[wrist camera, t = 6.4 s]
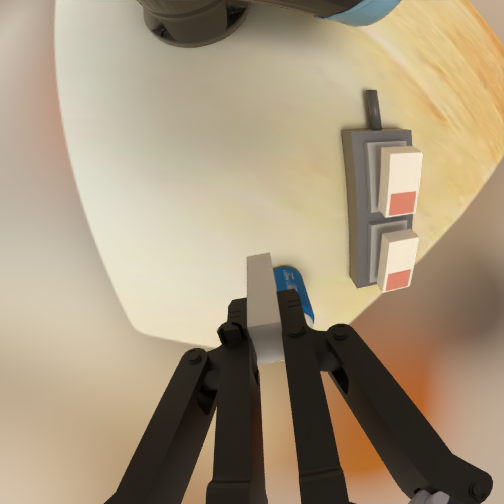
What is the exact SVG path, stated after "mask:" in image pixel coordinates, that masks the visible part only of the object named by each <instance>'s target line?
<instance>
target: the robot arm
mask: <svg viewBox="0 0 504 504" xmlns="http://www.w3.org/2000/svg"><path fill="white" fill-rule="evenodd" d="M137 1H138V2H139V3H140V4H141V5H142V6H143V14H144V20H145V23H146V25H147V27H148V28H149V30H150V31H151V32H152V33H153V34H154V35H155V36H156V37H158V38H159V39H160V40H162V41H163V42H165V43H168V44H170V45H173V46H178V47H200V46H205V45H209V44H212V43H215V42H217V41H220V40H222V39H224V38H225V37H227V36H229V35H230V34H231V33H233V32H234V31H235V30H236V29H237V28H238V27H239V26H240V25H241V24H242V23H243V21H244V20H245V18H246V16H247V14H248V11H249V5H250V2H254V3H261V4H267V5H272V6H278V7H283V8H287V9H292V10H296V11H300V12H304V13H308V14H312V15H314V16H315V17H316V18H319V19H323V20H333V21H336V22H340V23H343V24H346V25H349V26H367V25H370V24H373V23H375V22H377V21H379V20H381V19H382V18H384V17H385V16H386V15H388V14H389V13H390V12H391V11H392V10H393V9H394V8H395V7H396V6H397V5H398V4H399V3H400V1H401V0H137ZM217 333H218V336H219V338H220V341H221V343H222V345H221V346H219V347H218V348H216V349H213V350H211V351H208V352H206V351H205V350H204V349H201V348H193V349H191V350H189V351H187V352H186V353H185V354H184V355H183V356H182V358H181V360H180V362H179V364H178V366H177V368H176V370H175V372H174V374H173V376H172V378H171V380H170V382H169V384H168V386H167V388H166V390H165V392H164V394H163V396H162V398H161V400H160V402H159V404H158V406H157V408H156V410H155V412H154V414H153V416H152V418H151V420H150V422H149V424H148V427H147V429H146V431H145V433H144V435H143V437H142V439H141V441H140V443H139V445H138V447H137V449H136V451H135V453H134V455H133V457H132V460H131V461H130V464H129V466H128V468H127V470H126V472H125V474H124V476H123V478H122V481H121V483H120V485H119V487H118V489H117V491H116V493H115V494H114V495H112V497H110V498H109V499H108V500H107V501H106V502H105V503H104V504H181V502H182V499H183V497H184V494H185V491H186V488H187V486H188V484H189V481H190V478H191V475H192V473H193V470H194V467H195V465H196V462H197V459H198V457H199V454H200V451H201V449H202V446H203V443H204V440H205V438H206V435H207V432H208V429H209V427H210V424H211V421H212V418H213V415H214V412H215V410H216V407H217V414H216V431H215V446H214V464H213V479H212V481H211V482H210V483H209V484H208V486H207V491H206V504H268V499H267V495H266V490H265V475H264V474H265V473H264V453H263V435H262V434H263V433H262V415H261V394H260V376H259V370H258V367H257V361H258V364H263V363H270V362H277V361H282V360H285V363H286V371H287V379H288V387H289V394H290V402H291V410H292V418H293V426H294V435H295V443H296V452H297V460H298V469H299V485H300V494H301V504H355V503H352V502H349V499H348V494H347V488H346V483H345V477H344V473H343V470H342V468H341V466H340V462H339V457H338V452H337V447H336V442H335V437H334V432H333V427H332V423H331V418H330V413H329V409H328V405H327V400H326V395H325V391H324V387H323V383H322V378H321V374H320V371H327V372H328V374H329V375H330V377H331V378H332V380H333V382H334V383H335V385H336V386H337V388H338V390H339V391H340V393H341V395H342V396H343V398H344V399H345V401H346V403H347V404H348V406H349V407H350V409H351V411H352V412H353V414H354V416H355V417H356V418H357V420H358V422H359V424H360V425H361V427H362V428H363V430H364V432H365V433H366V435H367V436H368V438H369V440H370V441H371V443H372V445H373V446H374V448H375V449H376V451H377V453H378V454H379V456H380V458H381V459H382V461H383V462H384V464H385V465H386V467H387V469H388V470H389V472H390V474H391V475H392V477H393V478H394V480H395V482H396V483H397V485H398V486H399V487H400V488H401V490H402V491H403V492H404V493H405V494H406V495H407V496H408V497H409V498H410V499H411V501H410V502H409V503H408V504H480V503H482V502H483V501H485V500H486V498H487V497H488V496H489V495H490V493H491V490H492V487H493V480H492V477H491V476H490V475H489V474H488V473H487V472H485V471H483V470H481V469H479V468H477V467H475V466H473V465H471V464H470V463H468V462H466V461H464V460H462V459H461V458H459V457H457V456H455V455H453V454H452V453H451V451H450V450H449V449H448V447H447V446H446V445H445V443H444V442H443V441H442V439H441V438H440V437H439V435H438V434H437V433H436V431H435V430H434V429H433V427H432V426H431V425H430V424H429V422H428V421H427V420H426V418H425V417H424V416H423V414H422V413H421V412H420V411H419V409H418V408H417V407H416V405H415V404H414V403H413V402H412V400H411V399H410V398H409V397H408V395H407V394H406V393H405V391H404V390H403V389H402V388H401V386H400V385H399V384H398V383H397V381H396V380H395V379H394V378H393V376H392V375H391V374H390V373H389V372H388V370H387V369H386V368H385V367H384V366H383V364H382V363H381V362H380V360H379V359H378V358H377V357H376V355H375V354H374V353H373V352H372V351H371V349H369V347H368V346H367V345H366V343H365V342H364V341H363V340H362V339H361V337H360V336H359V335H358V334H357V332H356V331H355V330H354V329H353V328H352V327H351V326H349V325H347V324H336V325H333V326H331V327H330V328H329V329H328V330H327V331H317V330H314V329H312V328H310V327H309V326H308V325H307V322H306V319H305V315H304V311H303V307H302V303H301V300H300V296H299V293H298V292H297V291H296V290H295V289H294V288H293V289H288V290H282V291H277V288H276V282H275V277H274V272H273V267H272V262H271V257H270V253H265V254H260V255H254V256H249V257H247V298H241V299H235V300H232V301H231V303H230V305H229V306H228V319H227V322H225V323H224V324H222V325H221V326H220V327H219V328H218V331H217Z"/></svg>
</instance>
